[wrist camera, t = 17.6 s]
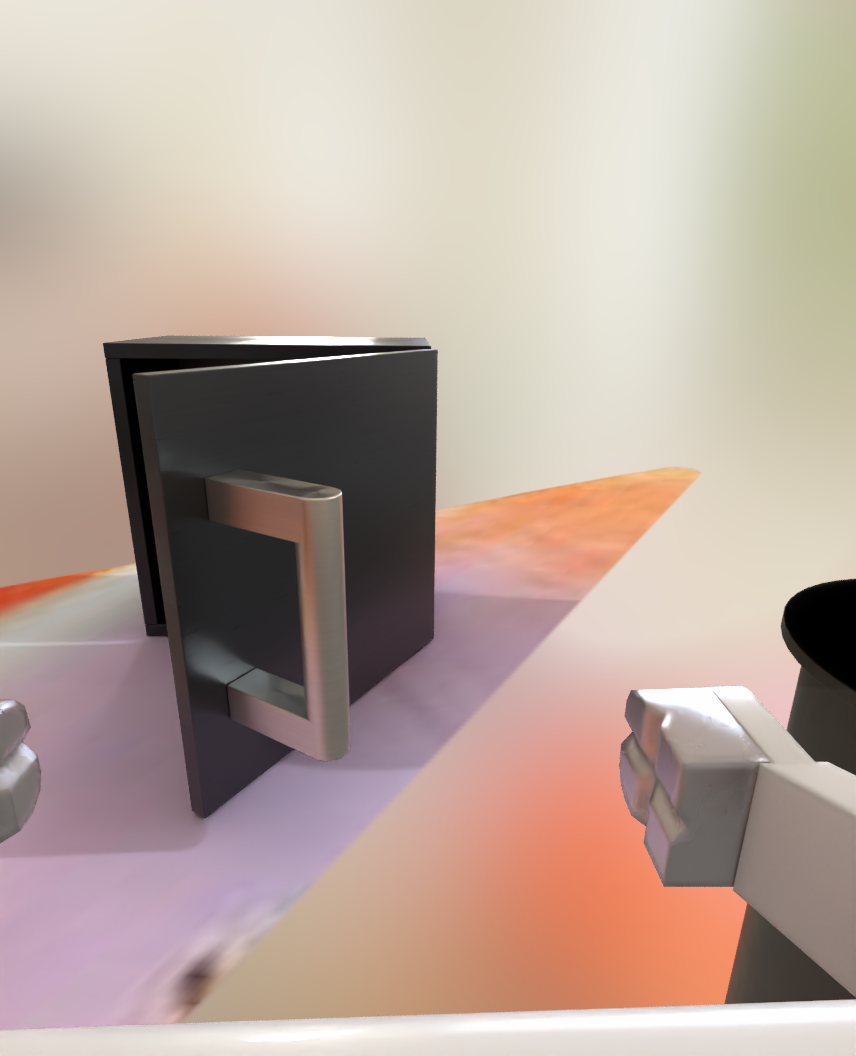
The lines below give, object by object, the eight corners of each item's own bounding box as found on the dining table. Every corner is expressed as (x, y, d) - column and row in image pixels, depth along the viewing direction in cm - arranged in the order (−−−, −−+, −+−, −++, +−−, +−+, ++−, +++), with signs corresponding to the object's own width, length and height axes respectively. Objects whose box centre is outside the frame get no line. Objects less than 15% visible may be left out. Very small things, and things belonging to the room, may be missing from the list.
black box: (428, 633, 41) (431, 345, 35) (146, 636, 40) (102, 342, 34) (423, 572, 50) (425, 338, 44) (195, 573, 49) (167, 335, 44)
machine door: (512, 662, 37) (530, 353, 31) (305, 879, 23) (271, 386, 17) (423, 635, 40) (425, 348, 34) (191, 811, 26) (131, 373, 20)
